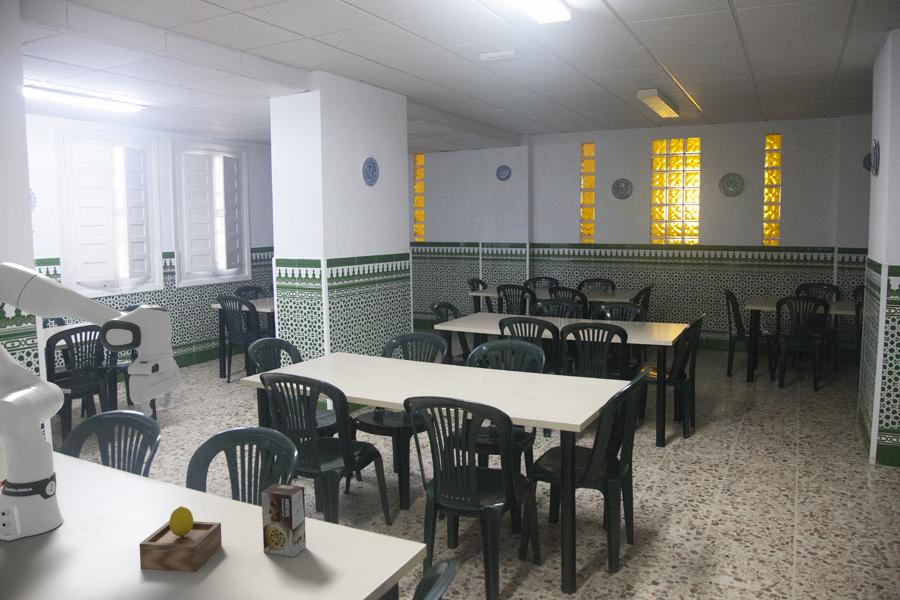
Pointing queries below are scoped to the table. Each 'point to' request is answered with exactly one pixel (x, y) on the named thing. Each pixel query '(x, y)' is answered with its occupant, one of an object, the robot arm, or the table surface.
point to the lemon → (181, 521)
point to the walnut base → (180, 547)
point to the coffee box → (283, 519)
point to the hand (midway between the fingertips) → (157, 411)
